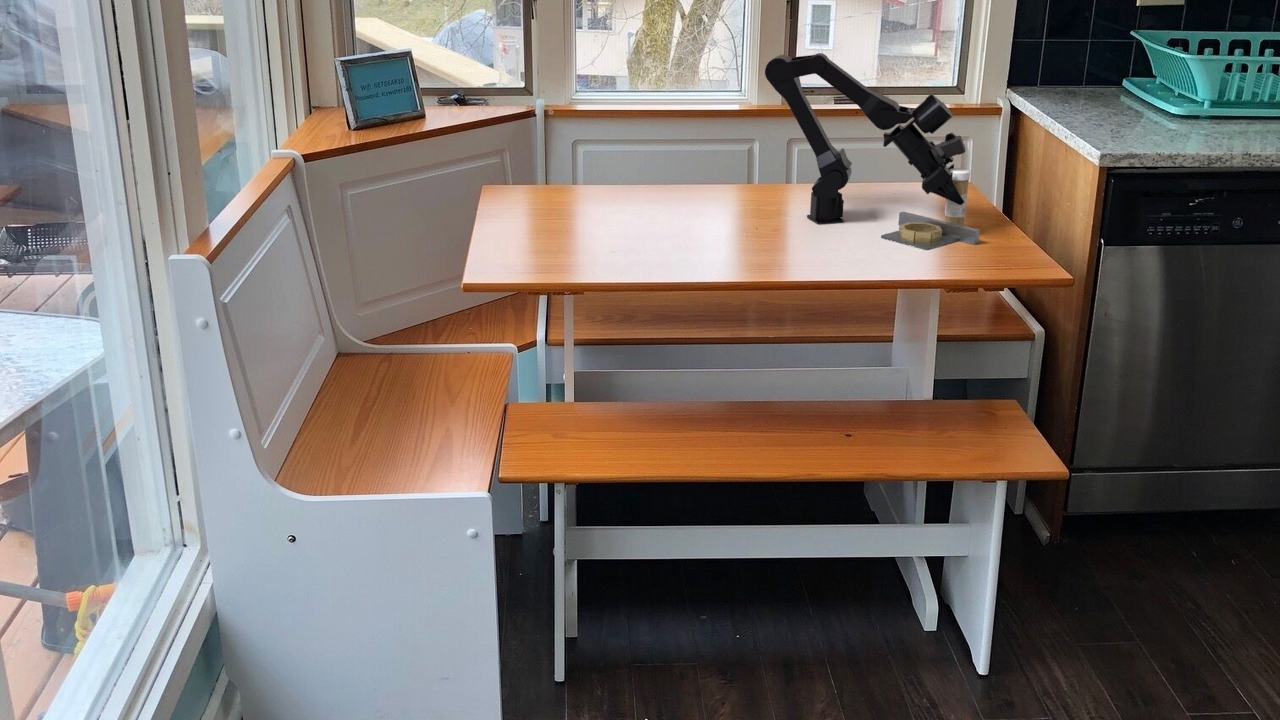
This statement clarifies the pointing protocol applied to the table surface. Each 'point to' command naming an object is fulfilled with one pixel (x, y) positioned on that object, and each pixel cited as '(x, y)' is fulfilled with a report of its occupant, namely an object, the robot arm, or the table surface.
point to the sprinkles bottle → (954, 210)
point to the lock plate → (930, 232)
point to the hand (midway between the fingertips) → (962, 201)
